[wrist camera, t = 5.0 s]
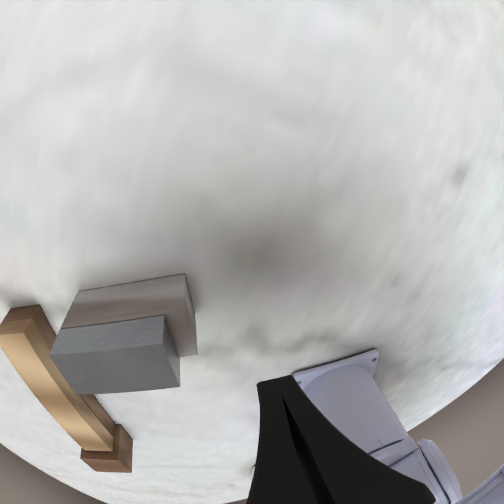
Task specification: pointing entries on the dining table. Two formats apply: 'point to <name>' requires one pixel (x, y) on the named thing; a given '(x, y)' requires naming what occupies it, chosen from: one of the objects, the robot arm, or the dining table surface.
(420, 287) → the dining table surface
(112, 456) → the brown grey blocky piece
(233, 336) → the dining table surface
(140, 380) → the bar
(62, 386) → the arm
